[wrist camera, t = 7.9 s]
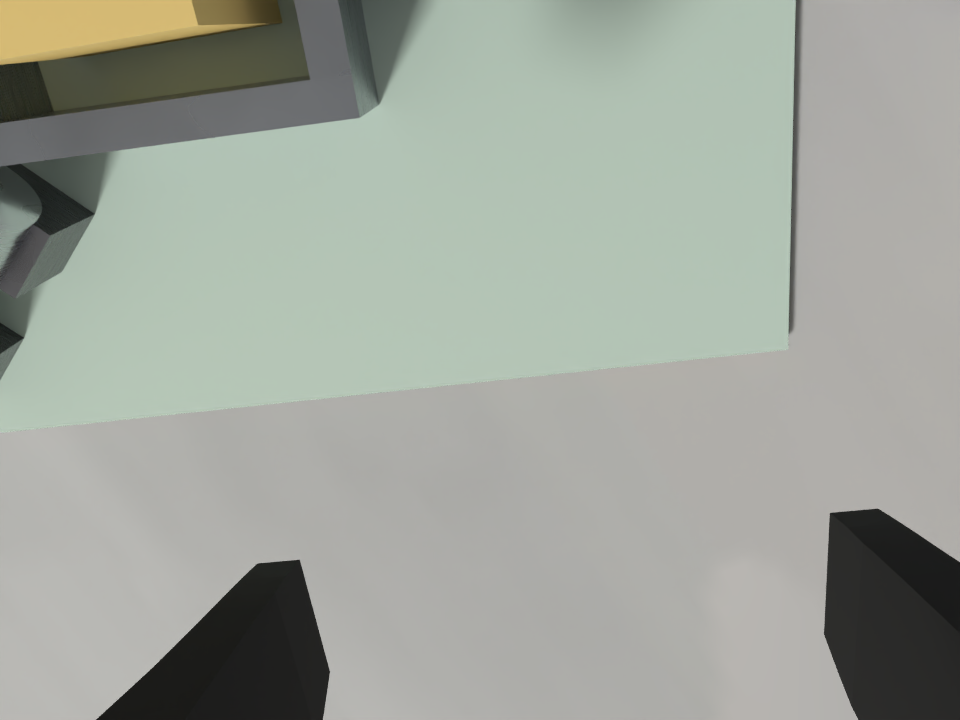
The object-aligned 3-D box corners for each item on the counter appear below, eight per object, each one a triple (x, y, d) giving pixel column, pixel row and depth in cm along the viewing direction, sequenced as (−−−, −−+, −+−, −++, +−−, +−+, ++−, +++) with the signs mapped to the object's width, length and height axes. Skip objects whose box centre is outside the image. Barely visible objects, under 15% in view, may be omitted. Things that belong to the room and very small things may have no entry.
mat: (798, -515, 14) (807, -529, 13) (782, 343, 20) (788, 349, 20) (-359, -291, 15) (-381, -298, 15) (-42, 431, 22) (-51, 438, 21)
